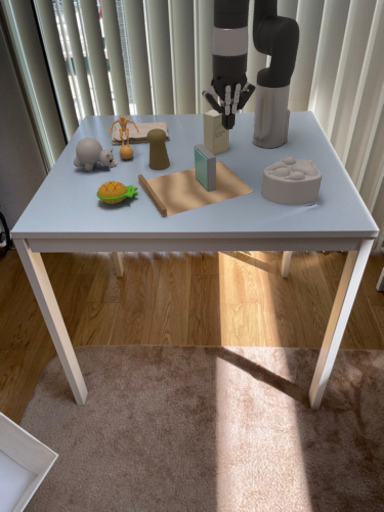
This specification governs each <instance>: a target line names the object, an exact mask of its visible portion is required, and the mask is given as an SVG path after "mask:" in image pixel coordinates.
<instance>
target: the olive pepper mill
mask: <svg viewBox="0 0 384 512" xmlns="http://www.w3.org/2000/svg"><path fill="white" fill-rule="evenodd" d="M166 138H167V135H166V133H165V131H164V130H162V129H152V130H150V131H149V132H148V133H147V140H148V142H149V143H148V144H149V150H148V151H149V154H148V156H149V159H148V164H149V165H148V166H149V168H150V170H151V171H152V170H153V171H165V170H167V169H168V168H169V167H170V166H171V162H170V158H169V153H168V149H167V145H166V143H167V142H166Z"/></svg>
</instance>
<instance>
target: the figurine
mask: <svg viewBox="0 0 384 512" xmlns="http://www.w3.org/2000/svg"><path fill="white" fill-rule="evenodd" d="M117 123H119V124H118V125H120V126H121V128H122V129H119V131H120V138H121V140H122V145H121V147H120V149H119V151H118V152H119V153H118V154H119V156H120V158H121V159H123V160H130V159H132V158H133V157H134V149H133V148H132V147H131V145H129V138H128V137H129V129H128V128H127V129H126V126H127V124H128V123H130V124H134V126H135V128H136V129H137V133H139V130H138V128H137V126H136V124H137V123H136V122H135V120H132V119H129V117H126V116H125V115H121V116H120V117H119V118H117V119H116V120H114V121H113V122H112V123H111V126H110V128H109V135H112V134H111V133H112V131H113V127H114V124H117ZM123 132H125V135H126V137H127V145H124V140H123V138H122V136H123Z"/></svg>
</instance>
